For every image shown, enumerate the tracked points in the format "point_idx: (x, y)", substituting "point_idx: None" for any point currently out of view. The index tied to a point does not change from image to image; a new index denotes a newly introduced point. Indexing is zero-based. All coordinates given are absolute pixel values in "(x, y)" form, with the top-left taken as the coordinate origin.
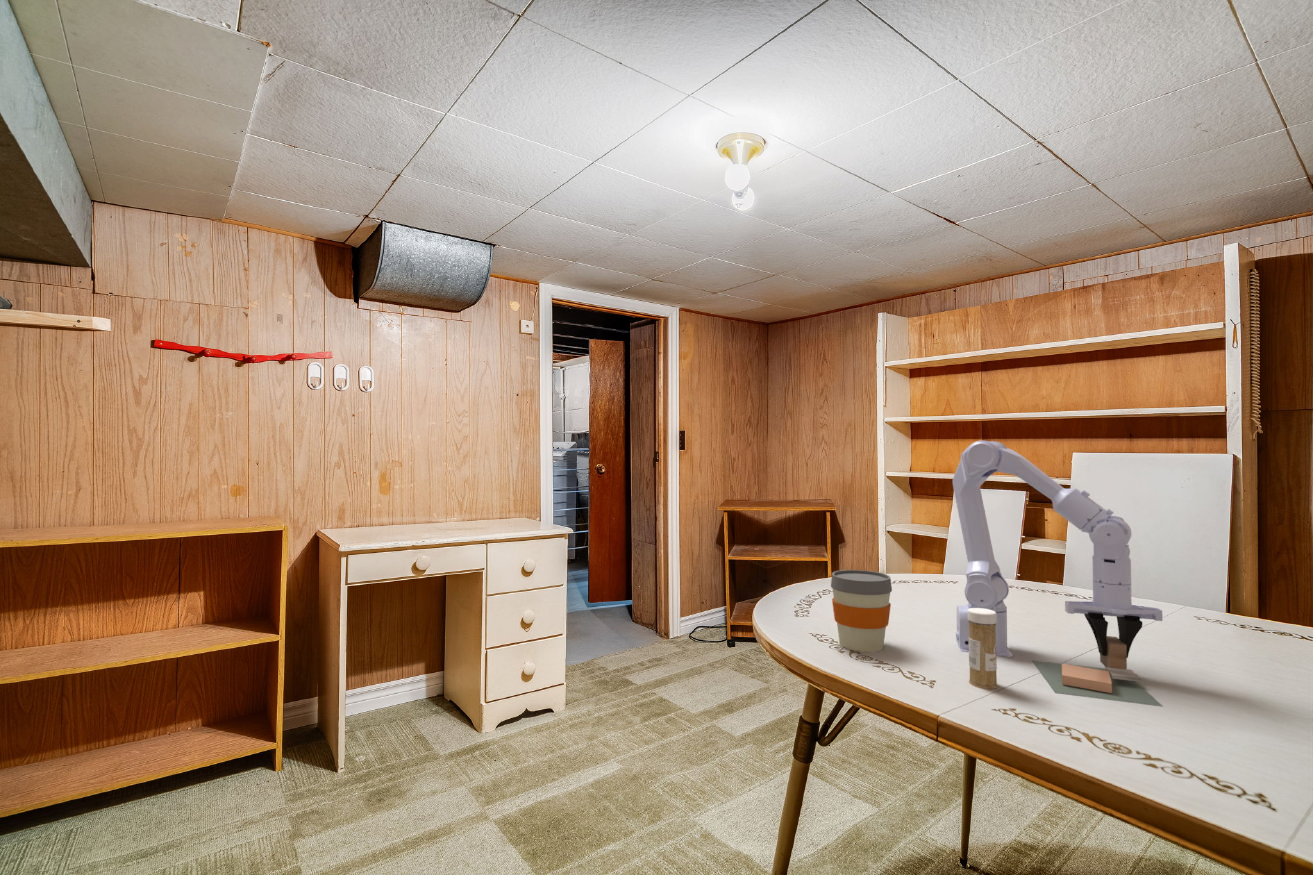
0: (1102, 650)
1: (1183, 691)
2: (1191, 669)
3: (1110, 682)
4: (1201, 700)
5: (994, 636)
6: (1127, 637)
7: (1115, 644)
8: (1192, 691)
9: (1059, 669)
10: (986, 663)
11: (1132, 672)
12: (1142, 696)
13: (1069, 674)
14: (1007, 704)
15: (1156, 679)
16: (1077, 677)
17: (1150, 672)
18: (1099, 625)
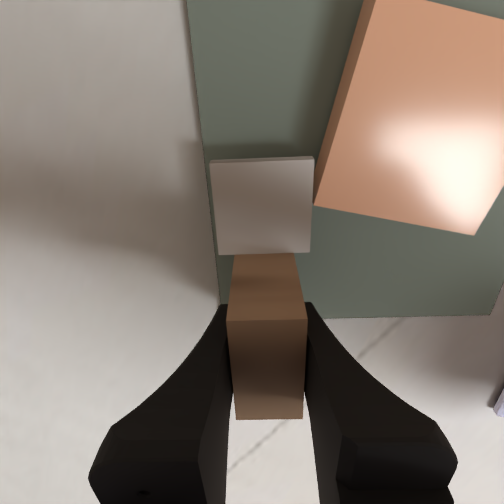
0: (317, 314)
1: (79, 209)
2: (48, 395)
3: (375, 15)
4: (30, 131)
5: None
6: (211, 367)
7: (277, 319)
8: (53, 220)
9: (437, 257)
10: None
11: (222, 226)
12: (233, 39)
13: None
14: None
15: (142, 292)
16: None
17: (148, 343)
18: (386, 411)
